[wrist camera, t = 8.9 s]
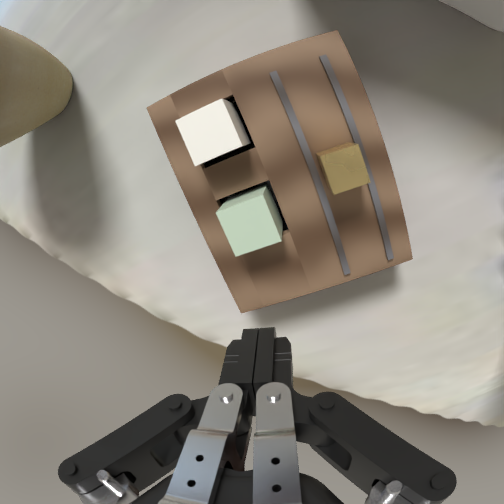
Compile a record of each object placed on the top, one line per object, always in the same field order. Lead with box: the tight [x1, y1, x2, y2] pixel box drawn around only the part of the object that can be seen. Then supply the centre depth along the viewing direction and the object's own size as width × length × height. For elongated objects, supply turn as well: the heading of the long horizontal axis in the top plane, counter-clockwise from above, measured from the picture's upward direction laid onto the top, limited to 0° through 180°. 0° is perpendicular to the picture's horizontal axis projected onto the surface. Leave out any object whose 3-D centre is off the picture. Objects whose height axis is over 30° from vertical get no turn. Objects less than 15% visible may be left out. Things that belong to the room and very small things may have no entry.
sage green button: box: [216, 184, 283, 257], centre depth 26 cm, size 4×4×5 cm
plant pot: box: [0, 26, 73, 147], centre depth 22 cm, size 15×15×16 cm
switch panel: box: [147, 30, 413, 313], centre depth 28 cm, size 22×18×6 cm
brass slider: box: [316, 142, 371, 195], centre depth 22 cm, size 3×3×4 cm
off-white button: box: [175, 99, 250, 166], centre depth 24 cm, size 4×4×5 cm
